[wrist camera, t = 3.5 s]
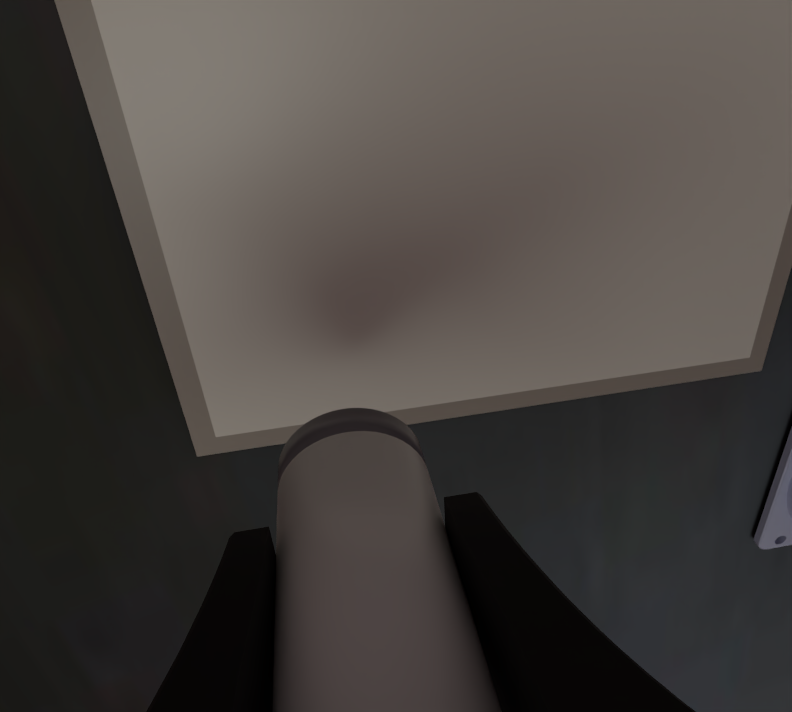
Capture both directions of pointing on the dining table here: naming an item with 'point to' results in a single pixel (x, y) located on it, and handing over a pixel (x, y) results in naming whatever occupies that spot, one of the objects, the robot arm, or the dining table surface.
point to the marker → (368, 578)
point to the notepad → (443, 197)
